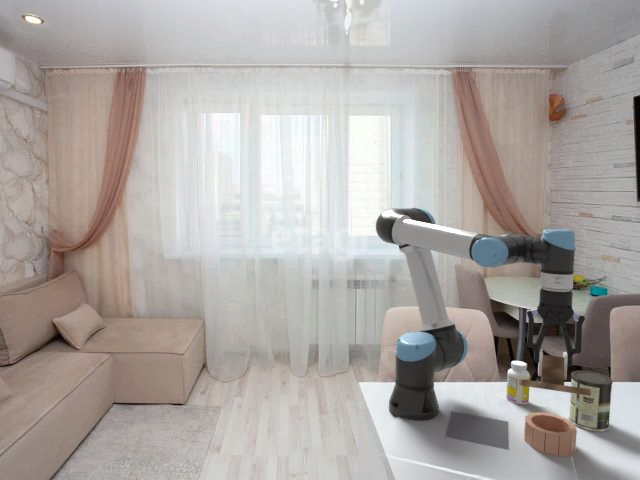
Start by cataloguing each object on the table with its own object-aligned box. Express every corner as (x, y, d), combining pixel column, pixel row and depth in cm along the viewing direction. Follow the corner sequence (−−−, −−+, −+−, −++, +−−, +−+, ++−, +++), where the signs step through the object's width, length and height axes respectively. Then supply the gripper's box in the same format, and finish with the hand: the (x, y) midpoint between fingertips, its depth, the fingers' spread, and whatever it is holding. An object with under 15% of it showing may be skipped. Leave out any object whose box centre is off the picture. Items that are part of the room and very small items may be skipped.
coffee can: (600, 416, 135) (603, 371, 133) (615, 434, 125) (619, 385, 123) (563, 413, 137) (566, 368, 135) (575, 429, 127) (578, 382, 125)
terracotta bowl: (525, 451, 115) (526, 429, 115) (523, 429, 126) (524, 409, 126) (578, 462, 111) (579, 439, 110) (571, 438, 122) (572, 417, 121)
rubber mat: (445, 438, 121) (445, 436, 121) (451, 412, 136) (451, 411, 136) (508, 451, 115) (508, 449, 115) (507, 423, 130) (508, 421, 130)
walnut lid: (521, 385, 112) (522, 351, 114) (519, 384, 125) (519, 354, 127) (590, 395, 106) (590, 359, 108) (580, 393, 119) (579, 361, 121)
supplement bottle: (527, 398, 146) (529, 361, 145) (529, 407, 140) (532, 368, 139) (505, 395, 148) (507, 358, 147) (506, 404, 142) (508, 365, 141)
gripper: (518, 288, 115) (514, 375, 117) (599, 294, 108) (594, 387, 110) (517, 284, 122) (514, 366, 124) (593, 289, 115) (589, 376, 117)
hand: (551, 375), depth 117 cm, fingers closed on walnut lid, 5 cm apart
